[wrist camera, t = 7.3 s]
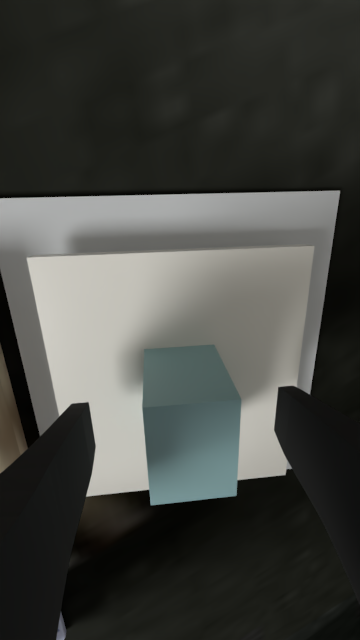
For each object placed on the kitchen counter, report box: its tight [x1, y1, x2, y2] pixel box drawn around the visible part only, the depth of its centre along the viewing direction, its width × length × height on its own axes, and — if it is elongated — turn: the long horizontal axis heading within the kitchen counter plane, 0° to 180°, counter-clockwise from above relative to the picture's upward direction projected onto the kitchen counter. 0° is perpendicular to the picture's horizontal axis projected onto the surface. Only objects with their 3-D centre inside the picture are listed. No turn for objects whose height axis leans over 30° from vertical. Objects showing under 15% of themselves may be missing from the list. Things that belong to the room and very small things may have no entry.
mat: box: [0, 191, 340, 469], centre depth 15 cm, size 16×15×1 cm
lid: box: [27, 244, 314, 505], centre depth 12 cm, size 12×11×6 cm
